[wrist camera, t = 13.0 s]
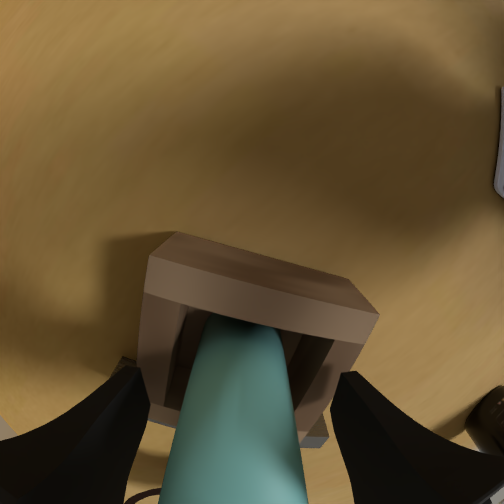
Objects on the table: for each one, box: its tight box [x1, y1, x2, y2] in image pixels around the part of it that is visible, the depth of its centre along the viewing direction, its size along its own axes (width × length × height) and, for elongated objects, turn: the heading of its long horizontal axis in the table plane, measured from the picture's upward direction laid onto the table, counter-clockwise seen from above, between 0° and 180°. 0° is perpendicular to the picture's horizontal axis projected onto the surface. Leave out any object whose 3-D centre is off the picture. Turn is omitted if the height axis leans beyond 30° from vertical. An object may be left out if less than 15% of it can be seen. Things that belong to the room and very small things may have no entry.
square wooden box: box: [137, 232, 380, 443], centre depth 11 cm, size 8×8×4 cm
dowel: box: [158, 312, 308, 504], centre depth 8 cm, size 4×4×9 cm
